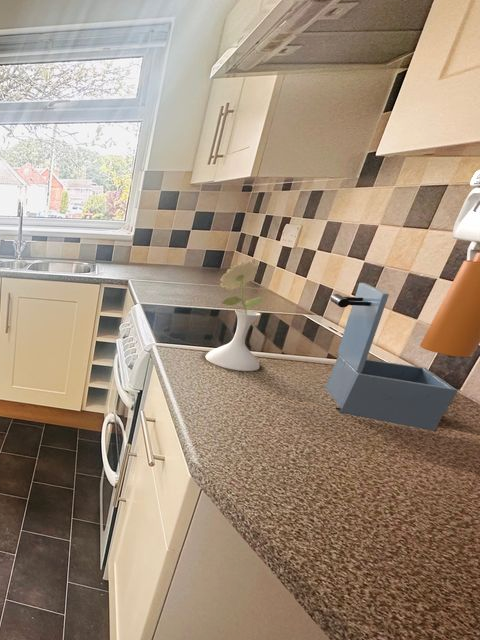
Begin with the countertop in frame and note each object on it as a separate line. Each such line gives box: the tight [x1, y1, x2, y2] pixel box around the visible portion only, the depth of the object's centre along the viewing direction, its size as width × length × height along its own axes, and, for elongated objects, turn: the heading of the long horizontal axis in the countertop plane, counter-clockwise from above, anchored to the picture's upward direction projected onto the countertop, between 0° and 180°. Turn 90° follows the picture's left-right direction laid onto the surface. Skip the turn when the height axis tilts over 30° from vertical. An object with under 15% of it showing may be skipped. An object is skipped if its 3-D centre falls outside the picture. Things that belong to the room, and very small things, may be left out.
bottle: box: [419, 253, 480, 358], centre depth 60 cm, size 6×6×18 cm
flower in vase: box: [205, 260, 264, 372], centre depth 96 cm, size 13×11×25 cm
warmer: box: [324, 354, 458, 432], centre depth 80 cm, size 14×12×9 cm
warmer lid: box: [329, 282, 390, 372], centre depth 79 cm, size 14×12×5 cm
